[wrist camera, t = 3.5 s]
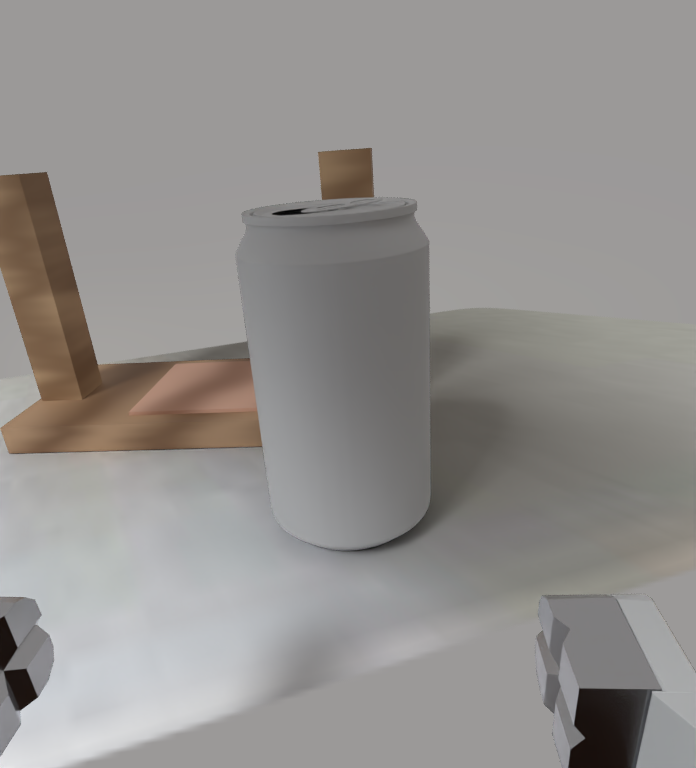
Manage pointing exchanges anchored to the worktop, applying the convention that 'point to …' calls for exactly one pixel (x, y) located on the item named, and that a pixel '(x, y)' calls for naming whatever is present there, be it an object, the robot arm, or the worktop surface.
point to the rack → (119, 381)
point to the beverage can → (340, 365)
